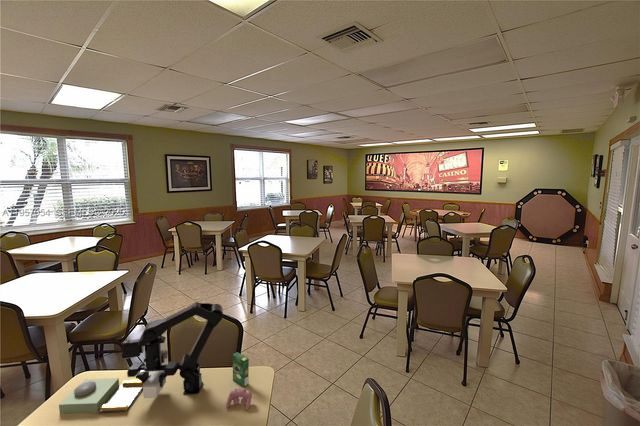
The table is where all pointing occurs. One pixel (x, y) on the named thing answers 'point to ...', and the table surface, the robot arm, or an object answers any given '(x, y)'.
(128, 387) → the white yellow tray
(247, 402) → the video game controller
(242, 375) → the coffee box
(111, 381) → the green slab
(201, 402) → the table surface
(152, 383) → the chute block
